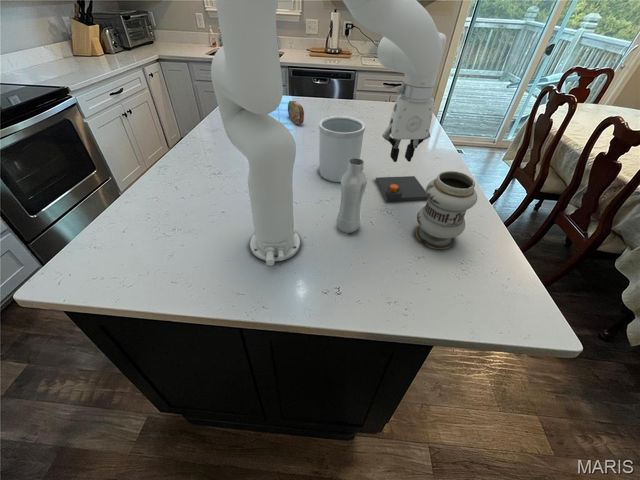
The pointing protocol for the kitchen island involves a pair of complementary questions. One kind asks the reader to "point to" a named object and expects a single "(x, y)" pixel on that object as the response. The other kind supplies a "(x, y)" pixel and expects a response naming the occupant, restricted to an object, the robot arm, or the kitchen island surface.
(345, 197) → the plastic bottle
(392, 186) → the tare button
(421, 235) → the apothecary jar
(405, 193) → the scale
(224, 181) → the kitchen island surface
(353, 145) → the utensil holder
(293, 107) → the mottled brown slab
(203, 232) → the kitchen island surface
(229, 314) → the kitchen island surface
